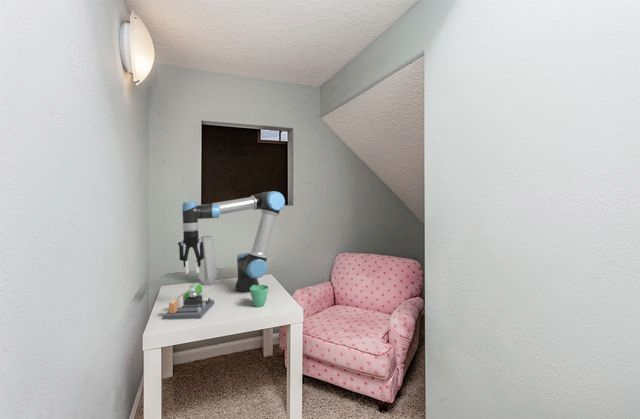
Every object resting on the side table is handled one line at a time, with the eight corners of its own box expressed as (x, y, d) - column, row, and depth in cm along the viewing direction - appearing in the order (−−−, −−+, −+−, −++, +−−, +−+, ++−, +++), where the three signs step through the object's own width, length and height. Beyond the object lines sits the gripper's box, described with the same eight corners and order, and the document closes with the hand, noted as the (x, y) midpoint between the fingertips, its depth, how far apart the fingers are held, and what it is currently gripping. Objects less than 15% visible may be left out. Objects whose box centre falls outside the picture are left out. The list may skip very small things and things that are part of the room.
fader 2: (183, 305, 164) (182, 295, 164) (180, 308, 160) (179, 298, 160) (178, 305, 164) (178, 295, 164) (175, 308, 160) (175, 298, 160)
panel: (214, 303, 173) (213, 294, 173) (200, 318, 152) (200, 308, 152) (181, 304, 172) (181, 295, 172) (163, 319, 151) (163, 309, 151)
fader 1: (177, 310, 157) (177, 300, 157) (174, 313, 153) (173, 302, 153) (172, 310, 157) (172, 300, 157) (169, 313, 153) (168, 302, 153)
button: (199, 296, 171) (198, 290, 171) (196, 299, 167) (195, 293, 167) (191, 297, 171) (190, 290, 171) (187, 299, 167) (187, 293, 166)
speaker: (197, 303, 174) (197, 290, 174) (184, 304, 173) (183, 291, 172) (202, 293, 191) (202, 281, 191) (190, 294, 190) (190, 282, 190)
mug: (271, 306, 166) (271, 288, 166) (254, 310, 161) (253, 291, 161) (261, 299, 179) (260, 282, 178) (244, 302, 173) (244, 285, 173)
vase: (221, 281, 218) (219, 235, 217) (211, 286, 207) (209, 237, 205) (205, 280, 221) (204, 235, 219) (195, 285, 210) (193, 237, 208)
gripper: (209, 229, 171) (211, 270, 172) (177, 230, 171) (178, 271, 172) (205, 230, 164) (206, 274, 165) (170, 231, 163) (172, 274, 164)
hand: (192, 272), depth 168 cm, fingers open, 5 cm apart
